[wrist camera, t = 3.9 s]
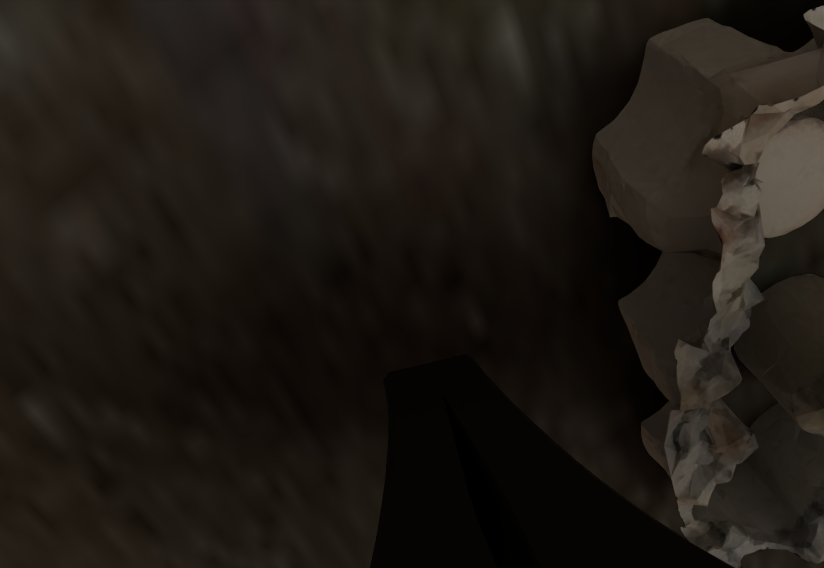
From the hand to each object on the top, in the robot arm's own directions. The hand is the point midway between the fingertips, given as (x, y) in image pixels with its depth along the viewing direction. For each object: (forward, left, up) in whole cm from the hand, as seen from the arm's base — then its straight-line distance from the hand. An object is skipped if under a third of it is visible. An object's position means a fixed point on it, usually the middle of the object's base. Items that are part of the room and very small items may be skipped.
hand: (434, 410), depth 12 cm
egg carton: (0, -7, -2) cm, 8 cm away
